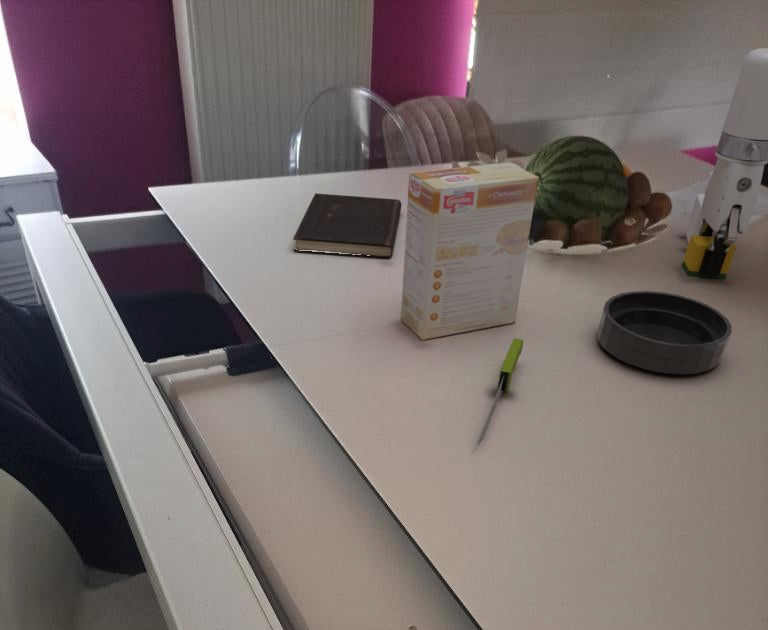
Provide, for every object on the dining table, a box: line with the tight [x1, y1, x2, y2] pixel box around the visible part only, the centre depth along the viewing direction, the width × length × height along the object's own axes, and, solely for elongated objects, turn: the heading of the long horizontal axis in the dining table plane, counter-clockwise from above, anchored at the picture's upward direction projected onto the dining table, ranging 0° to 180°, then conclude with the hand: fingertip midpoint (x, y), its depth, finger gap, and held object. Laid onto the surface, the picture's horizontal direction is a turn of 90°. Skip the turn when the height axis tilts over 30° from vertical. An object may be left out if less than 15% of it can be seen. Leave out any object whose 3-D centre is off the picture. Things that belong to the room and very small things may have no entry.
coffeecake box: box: [400, 161, 540, 341], centre depth 97 cm, size 15×7×20 cm, turn 115°
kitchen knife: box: [477, 337, 524, 446], centre depth 86 cm, size 22×1×3 cm, turn 161°
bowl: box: [596, 290, 733, 375], centre depth 98 cm, size 16×16×4 cm
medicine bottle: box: [685, 171, 735, 245], centre depth 128 cm, size 7×7×12 cm
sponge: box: [681, 235, 737, 279], centre depth 119 cm, size 6×4×5 cm
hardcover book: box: [292, 192, 402, 260], centre depth 127 cm, size 16×23×2 cm
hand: (704, 267), depth 121 cm, fingers closed on sponge, 4 cm apart
